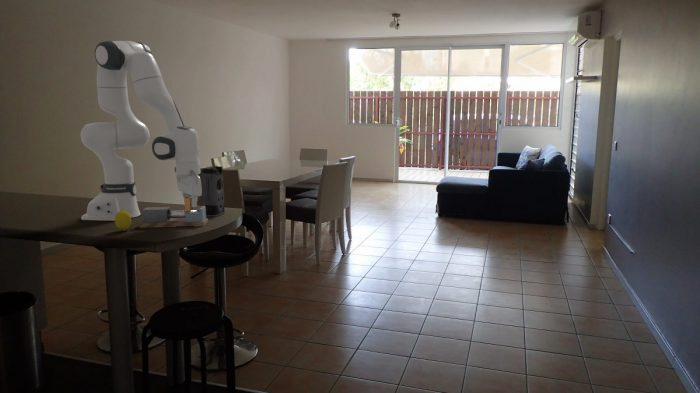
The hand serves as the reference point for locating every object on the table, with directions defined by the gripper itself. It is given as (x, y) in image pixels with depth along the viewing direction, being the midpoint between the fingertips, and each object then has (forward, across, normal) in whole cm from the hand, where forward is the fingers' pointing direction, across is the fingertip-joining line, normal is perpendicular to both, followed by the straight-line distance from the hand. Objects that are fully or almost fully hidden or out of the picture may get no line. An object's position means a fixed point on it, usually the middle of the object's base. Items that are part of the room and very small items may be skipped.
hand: (190, 205), depth 206 cm
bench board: (+8, +3, +6) cm, 10 cm away
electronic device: (+8, +13, -14) cm, 20 cm away
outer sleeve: (+6, +6, +11) cm, 14 cm away
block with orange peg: (+5, +2, +4) cm, 7 cm away
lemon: (+8, +3, +24) cm, 25 cm away
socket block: (+6, -1, -2) cm, 6 cm away
